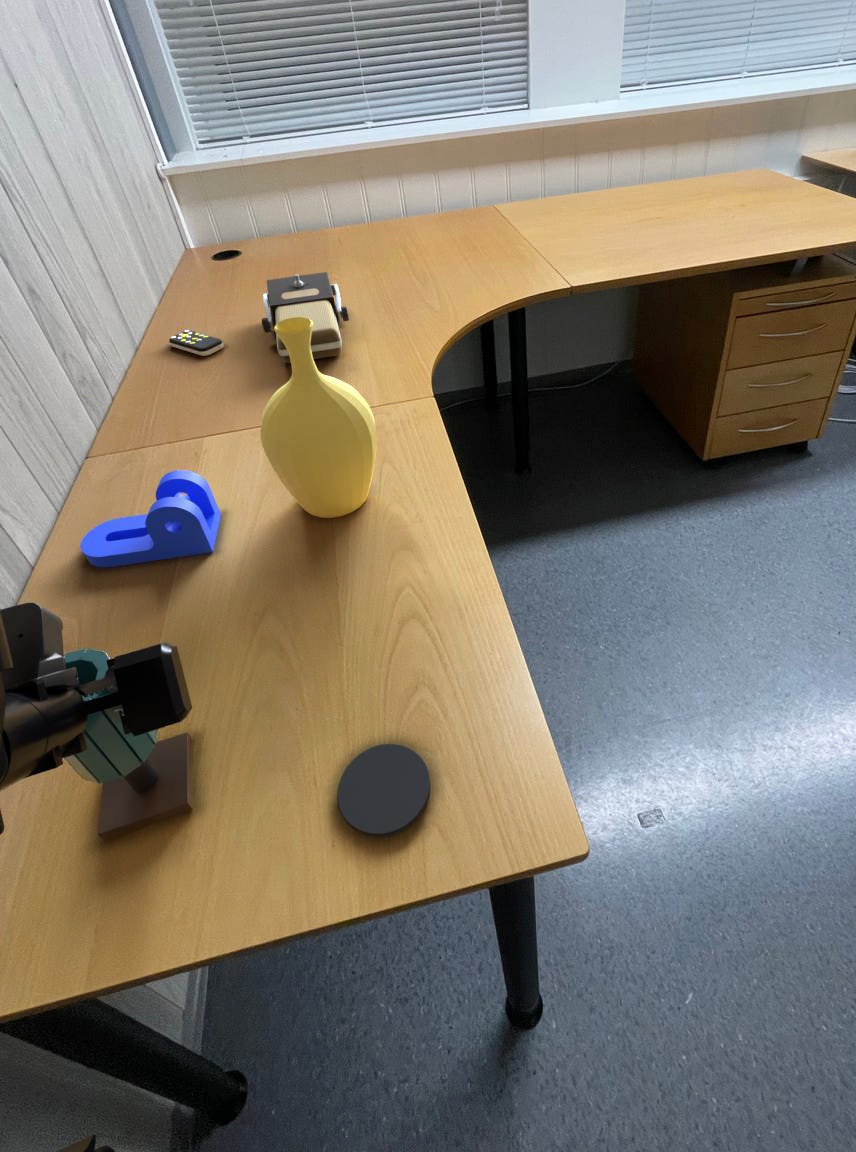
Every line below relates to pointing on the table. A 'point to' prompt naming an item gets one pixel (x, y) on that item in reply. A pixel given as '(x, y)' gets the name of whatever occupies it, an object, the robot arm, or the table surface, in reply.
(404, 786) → the pad
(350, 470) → the vase
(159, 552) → the bracket
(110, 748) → the slatted teal pen holder
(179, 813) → the stand
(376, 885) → the table surface
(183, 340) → the remote control
